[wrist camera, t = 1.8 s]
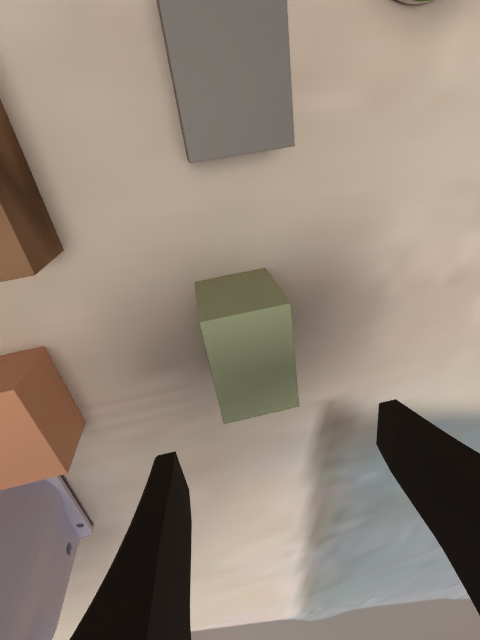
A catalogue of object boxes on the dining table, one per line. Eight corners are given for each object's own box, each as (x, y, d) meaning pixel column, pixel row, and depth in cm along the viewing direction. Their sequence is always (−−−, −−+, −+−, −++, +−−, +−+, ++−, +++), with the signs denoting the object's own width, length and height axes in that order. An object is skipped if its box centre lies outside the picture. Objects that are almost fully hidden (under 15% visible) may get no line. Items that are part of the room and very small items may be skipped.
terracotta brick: (85, 420, 22) (67, 473, 18) (24, 435, 21) (-7, 492, 18) (44, 345, 19) (13, 389, 15) (-28, 361, 19) (-77, 410, 15)
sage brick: (274, 354, 22) (299, 406, 17) (214, 367, 21) (223, 424, 17) (264, 267, 19) (290, 303, 14) (194, 281, 18) (199, 322, 14)
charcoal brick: (269, 146, 16) (294, 146, 12) (187, 160, 16) (189, 163, 12) (254, -22, 13) (282, -84, 10) (154, -10, 13) (145, -69, 9)
